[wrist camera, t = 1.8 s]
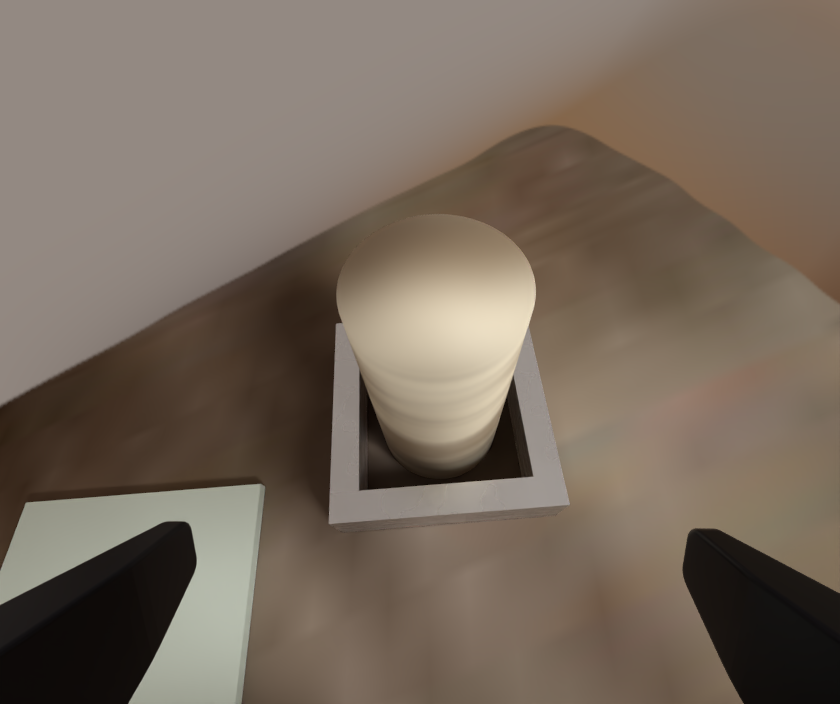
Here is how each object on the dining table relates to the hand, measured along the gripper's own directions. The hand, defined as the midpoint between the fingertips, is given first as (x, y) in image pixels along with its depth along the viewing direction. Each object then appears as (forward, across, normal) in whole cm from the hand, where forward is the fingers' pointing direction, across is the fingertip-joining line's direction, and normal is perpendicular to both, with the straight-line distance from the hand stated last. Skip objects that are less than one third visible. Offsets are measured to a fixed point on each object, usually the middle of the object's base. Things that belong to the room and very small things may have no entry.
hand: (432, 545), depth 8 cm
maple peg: (+13, 0, +4) cm, 14 cm away
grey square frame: (+13, 0, +4) cm, 14 cm away
